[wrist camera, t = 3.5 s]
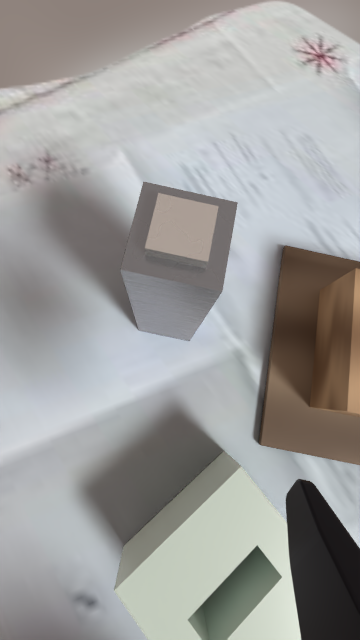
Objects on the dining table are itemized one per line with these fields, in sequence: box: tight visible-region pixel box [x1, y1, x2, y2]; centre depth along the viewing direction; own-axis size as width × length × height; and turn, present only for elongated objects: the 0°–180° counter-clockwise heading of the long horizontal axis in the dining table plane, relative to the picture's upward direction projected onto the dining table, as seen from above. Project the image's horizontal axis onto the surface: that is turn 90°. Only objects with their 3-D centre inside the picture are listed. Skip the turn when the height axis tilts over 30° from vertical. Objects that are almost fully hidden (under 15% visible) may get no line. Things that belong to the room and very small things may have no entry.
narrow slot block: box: [114, 451, 301, 640], centre depth 18 cm, size 9×9×4 cm
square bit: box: [120, 182, 237, 341], centre depth 17 cm, size 4×4×13 cm
